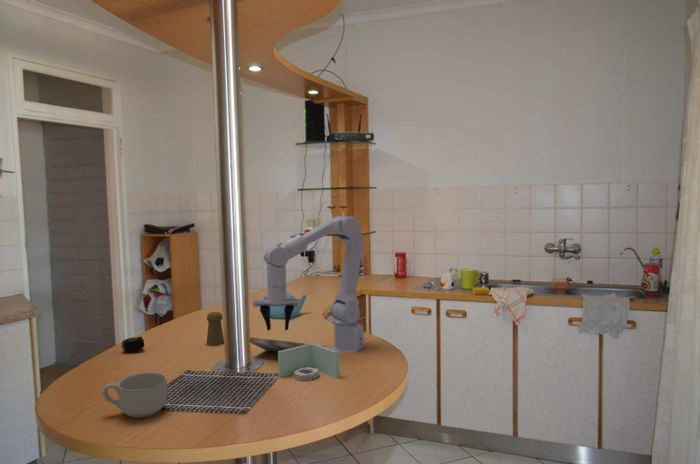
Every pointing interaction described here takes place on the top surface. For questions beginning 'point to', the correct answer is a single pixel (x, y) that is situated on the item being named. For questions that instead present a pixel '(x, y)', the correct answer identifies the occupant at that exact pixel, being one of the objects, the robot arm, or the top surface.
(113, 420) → the top surface
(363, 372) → the top surface
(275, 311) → the teapot
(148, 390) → the teacup
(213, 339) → the brown tall rounded piece
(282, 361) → the l-shaped corner panel
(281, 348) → the grey oak plank
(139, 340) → the tape measure
